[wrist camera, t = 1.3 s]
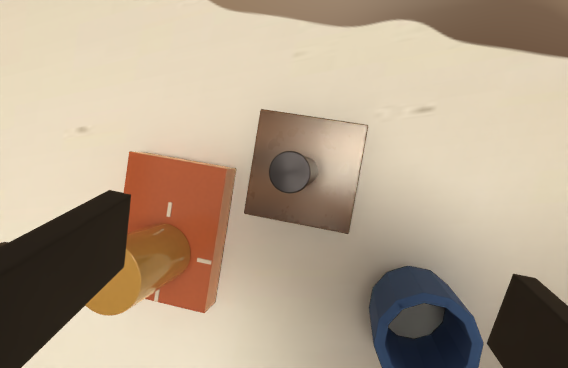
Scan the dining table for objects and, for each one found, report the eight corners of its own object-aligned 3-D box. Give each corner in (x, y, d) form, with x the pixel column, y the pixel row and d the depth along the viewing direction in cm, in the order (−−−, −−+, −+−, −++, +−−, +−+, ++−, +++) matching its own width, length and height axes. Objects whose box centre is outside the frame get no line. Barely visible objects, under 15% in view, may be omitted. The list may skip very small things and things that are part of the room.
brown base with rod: (348, 230, 38) (347, 255, 27) (249, 211, 39) (211, 228, 29) (367, 127, 37) (373, 111, 26) (265, 111, 39) (232, 91, 28)
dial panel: (215, 302, 40) (203, 313, 37) (126, 281, 42) (109, 291, 39) (236, 168, 39) (226, 168, 36) (145, 152, 41) (128, 151, 38)
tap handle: (186, 286, 38) (133, 325, 28) (133, 274, 38) (64, 307, 29) (194, 229, 37) (143, 250, 28) (140, 218, 38) (74, 234, 29)
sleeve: (444, 354, 37) (470, 405, 29) (363, 335, 38) (367, 379, 30) (461, 276, 36) (491, 306, 28) (377, 259, 37) (385, 284, 30)
